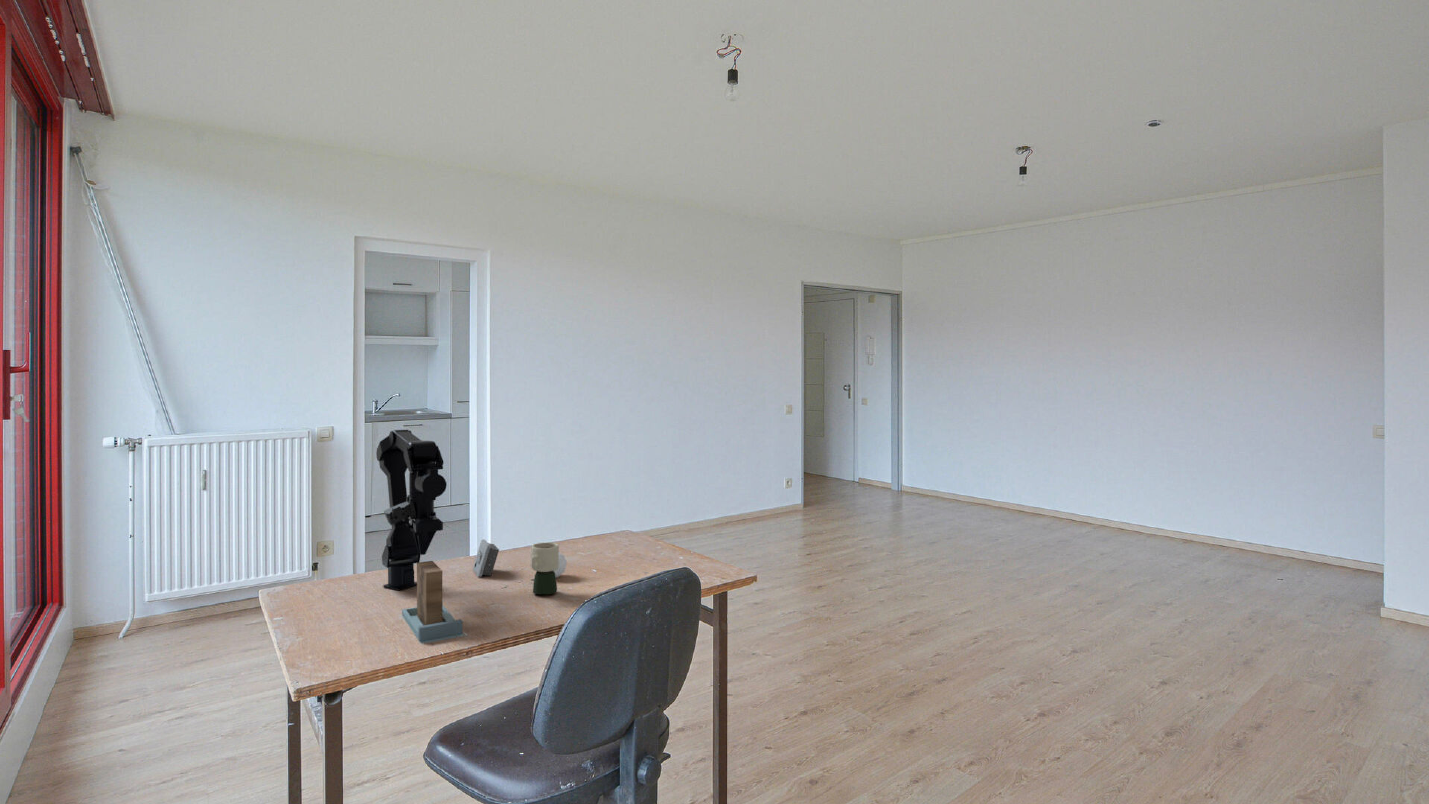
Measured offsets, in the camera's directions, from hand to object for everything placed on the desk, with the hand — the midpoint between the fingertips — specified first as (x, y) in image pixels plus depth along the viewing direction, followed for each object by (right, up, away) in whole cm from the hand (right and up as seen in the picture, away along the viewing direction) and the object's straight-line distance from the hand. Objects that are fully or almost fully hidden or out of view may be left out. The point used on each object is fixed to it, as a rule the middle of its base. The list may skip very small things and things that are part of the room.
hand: (421, 553), depth 183 cm
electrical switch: (+7, -12, +30) cm, 33 cm away
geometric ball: (+27, -13, +26) cm, 40 cm away
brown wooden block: (+7, -13, -13) cm, 20 cm away
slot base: (+9, -14, -15) cm, 22 cm away
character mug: (+28, -13, +11) cm, 33 cm away
